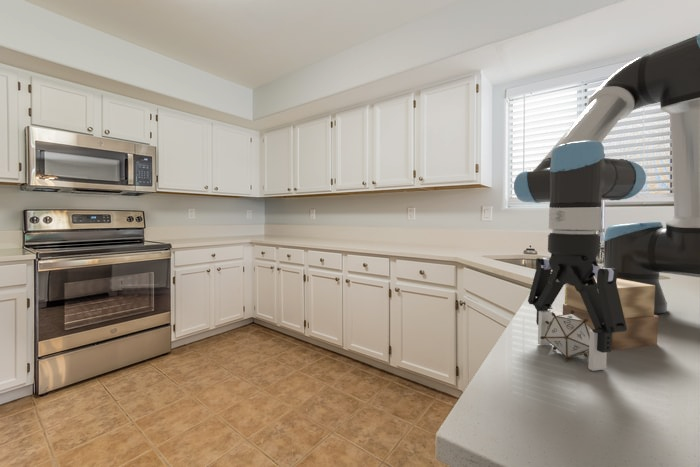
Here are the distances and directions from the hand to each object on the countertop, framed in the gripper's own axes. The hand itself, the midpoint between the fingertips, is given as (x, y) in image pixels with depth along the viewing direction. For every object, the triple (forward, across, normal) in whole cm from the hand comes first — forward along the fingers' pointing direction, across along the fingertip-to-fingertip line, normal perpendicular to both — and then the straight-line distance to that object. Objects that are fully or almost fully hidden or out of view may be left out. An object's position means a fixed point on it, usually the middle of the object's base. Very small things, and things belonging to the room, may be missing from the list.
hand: (568, 355), depth 57 cm
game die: (0, 0, 0) cm, 0 cm away
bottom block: (+1, -6, +16) cm, 17 cm away
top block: (-5, -6, +16) cm, 18 cm away
